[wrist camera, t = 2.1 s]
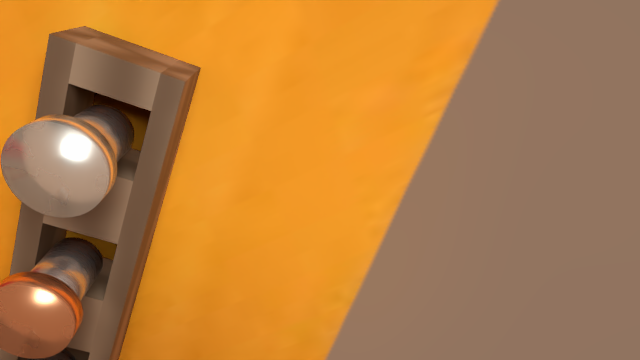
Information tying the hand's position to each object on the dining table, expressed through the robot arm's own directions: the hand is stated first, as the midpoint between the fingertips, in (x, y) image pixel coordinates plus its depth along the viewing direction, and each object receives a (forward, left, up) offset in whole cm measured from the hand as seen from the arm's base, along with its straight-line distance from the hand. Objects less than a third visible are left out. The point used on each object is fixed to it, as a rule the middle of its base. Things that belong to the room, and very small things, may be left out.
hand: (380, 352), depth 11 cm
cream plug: (-13, -6, -22) cm, 26 cm away
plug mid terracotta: (-13, -16, -22) cm, 30 cm away
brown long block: (-13, -16, -26) cm, 33 cm away
